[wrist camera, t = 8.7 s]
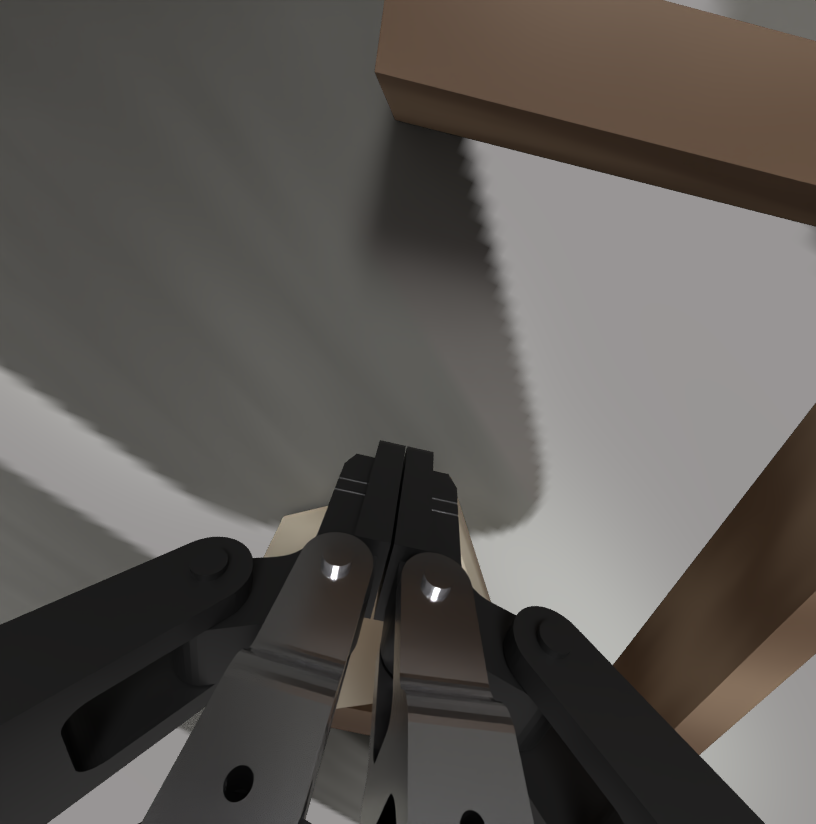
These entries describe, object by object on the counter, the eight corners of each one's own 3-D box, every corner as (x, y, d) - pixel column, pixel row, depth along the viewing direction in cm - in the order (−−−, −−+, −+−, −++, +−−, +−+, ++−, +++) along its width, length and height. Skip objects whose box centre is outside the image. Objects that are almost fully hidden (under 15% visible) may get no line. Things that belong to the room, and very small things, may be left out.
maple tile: (451, 477, 12) (458, 546, 10) (490, 601, 15) (505, 684, 12) (283, 516, 13) (248, 588, 11) (346, 627, 16) (329, 709, 13)
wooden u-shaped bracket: (409, 30, 8) (395, -72, 5) (1053, 197, 8) (1353, 185, 6) (309, 637, 17) (284, 718, 14) (621, 703, 17) (655, 793, 14)
